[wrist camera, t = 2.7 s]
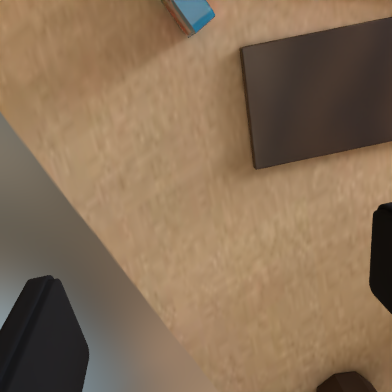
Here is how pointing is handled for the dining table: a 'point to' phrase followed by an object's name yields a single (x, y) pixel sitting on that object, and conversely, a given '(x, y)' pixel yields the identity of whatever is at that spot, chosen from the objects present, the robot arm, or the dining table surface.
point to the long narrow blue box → (190, 14)
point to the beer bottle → (346, 383)
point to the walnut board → (319, 92)
